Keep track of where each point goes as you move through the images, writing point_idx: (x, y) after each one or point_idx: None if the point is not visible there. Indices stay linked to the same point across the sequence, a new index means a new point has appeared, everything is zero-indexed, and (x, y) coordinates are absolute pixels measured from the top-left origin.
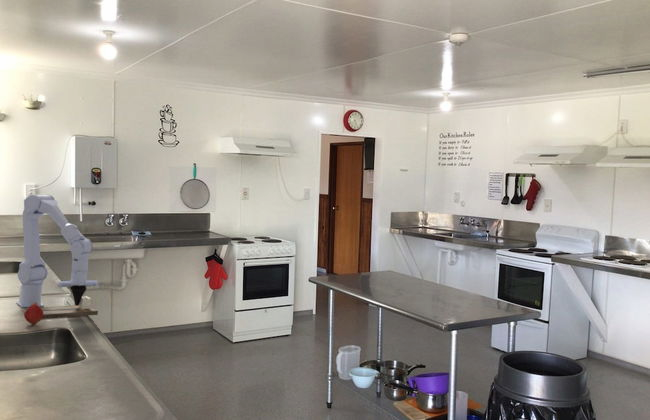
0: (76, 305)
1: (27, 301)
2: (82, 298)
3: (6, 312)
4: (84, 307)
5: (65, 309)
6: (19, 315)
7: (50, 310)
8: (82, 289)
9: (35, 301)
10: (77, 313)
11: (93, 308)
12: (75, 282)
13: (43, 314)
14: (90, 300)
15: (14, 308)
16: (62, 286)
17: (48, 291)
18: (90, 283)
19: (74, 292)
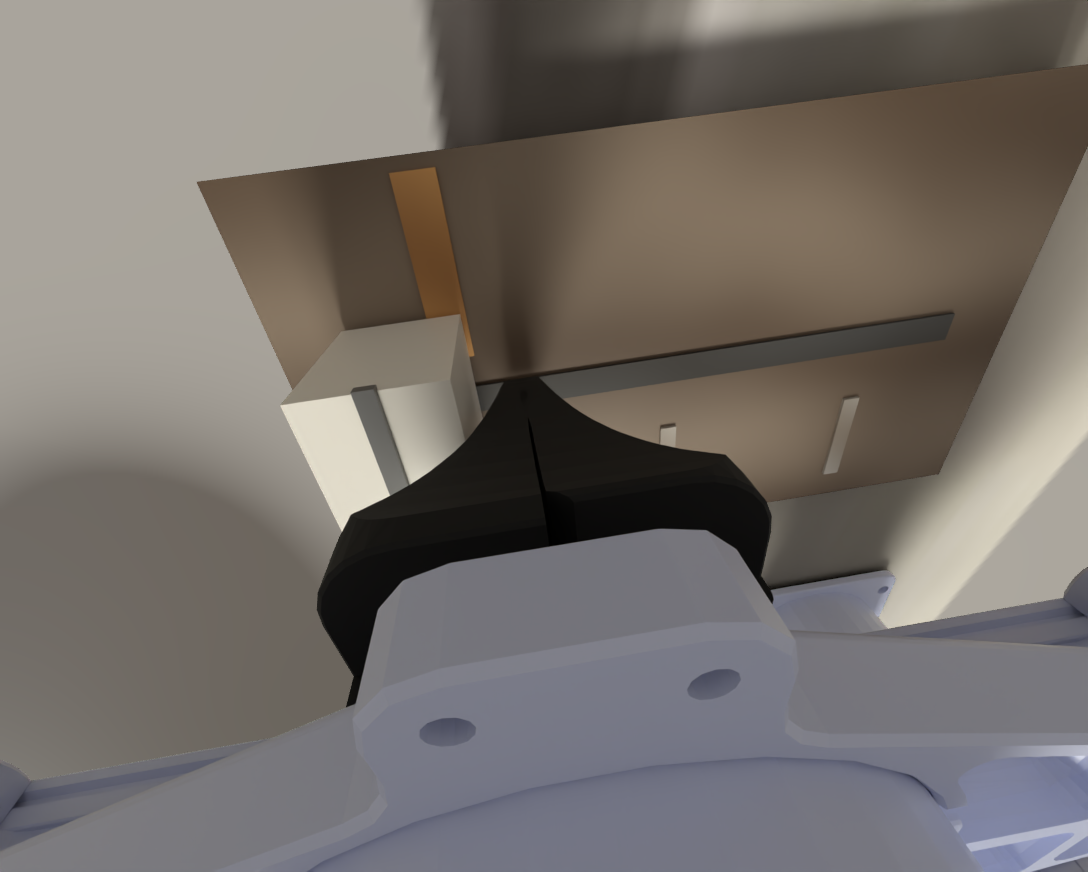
0: (538, 377)
1: (877, 624)
2: (452, 429)
3: (1068, 449)
4: (423, 328)
5: (664, 356)
6: (1073, 322)
7: (841, 331)
8: (467, 503)
9: (819, 628)
10: (544, 138)
11: (294, 374)
12: (888, 791)
13: (1055, 77)
14: (298, 386)
15: (934, 558)
16: (1048, 623)
17: None
18: (58, 846)
19: (674, 451)
